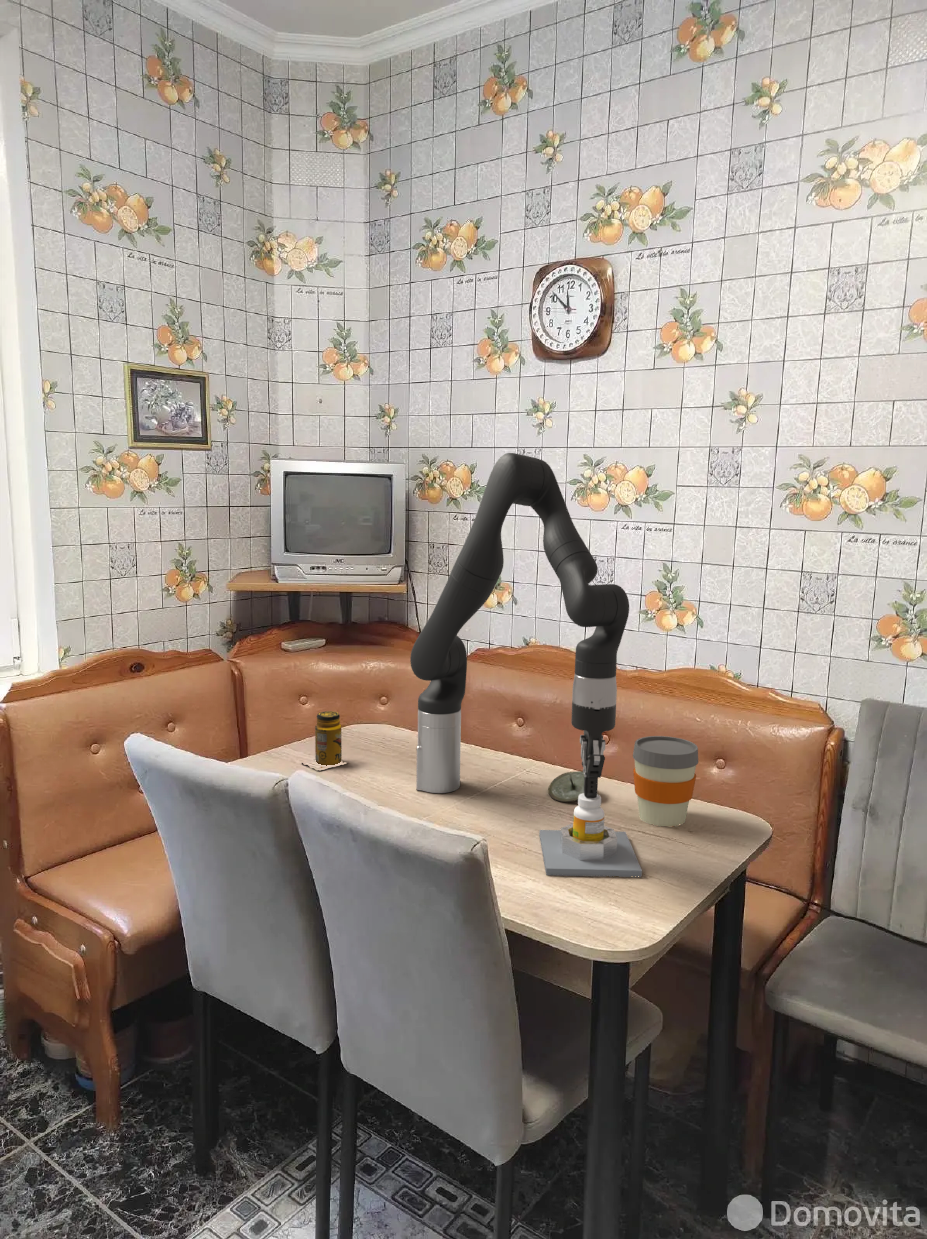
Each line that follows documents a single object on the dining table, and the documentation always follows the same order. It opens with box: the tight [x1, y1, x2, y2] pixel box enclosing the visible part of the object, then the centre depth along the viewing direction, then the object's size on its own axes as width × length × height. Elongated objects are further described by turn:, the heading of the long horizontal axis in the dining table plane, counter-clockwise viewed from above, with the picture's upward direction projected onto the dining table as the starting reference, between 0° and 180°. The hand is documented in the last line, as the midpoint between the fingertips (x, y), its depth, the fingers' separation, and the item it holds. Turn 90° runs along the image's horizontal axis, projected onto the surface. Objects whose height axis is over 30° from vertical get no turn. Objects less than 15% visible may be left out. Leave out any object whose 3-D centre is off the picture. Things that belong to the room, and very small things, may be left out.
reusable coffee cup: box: [632, 735, 699, 827], centre depth 165 cm, size 13×13×15 cm
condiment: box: [314, 710, 343, 766], centre depth 194 cm, size 7×8×12 cm
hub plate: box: [538, 829, 643, 878], centre depth 149 cm, size 16×16×1 cm
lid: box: [547, 770, 584, 803], centre depth 177 cm, size 11×10×5 cm
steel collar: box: [560, 822, 617, 861], centre depth 148 cm, size 10×10×3 cm
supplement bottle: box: [572, 793, 605, 842], centre depth 148 cm, size 5×5×10 cm
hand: (590, 796), depth 147 cm, fingers closed
